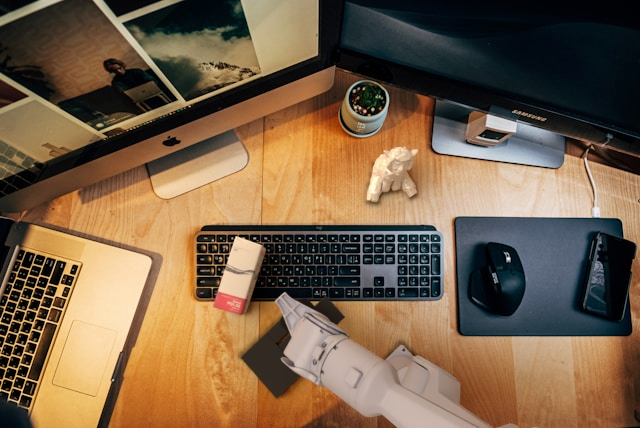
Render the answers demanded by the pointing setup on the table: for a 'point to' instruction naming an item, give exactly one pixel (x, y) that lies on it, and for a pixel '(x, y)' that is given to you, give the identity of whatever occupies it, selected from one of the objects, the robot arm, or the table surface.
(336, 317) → the pad
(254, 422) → the table surface
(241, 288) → the ink box
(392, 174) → the seated beast figurine
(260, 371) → the base pad
